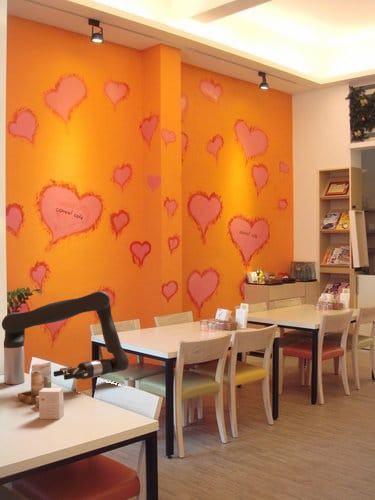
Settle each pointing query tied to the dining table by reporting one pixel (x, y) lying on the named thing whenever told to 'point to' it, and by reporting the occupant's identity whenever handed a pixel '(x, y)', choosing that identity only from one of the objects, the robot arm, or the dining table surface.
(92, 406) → the dining table surface
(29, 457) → the dining table surface
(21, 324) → the robot arm
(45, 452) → the dining table surface
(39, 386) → the tan hollow cylinder
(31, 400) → the tray
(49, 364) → the ink box
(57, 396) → the small box
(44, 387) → the stand
